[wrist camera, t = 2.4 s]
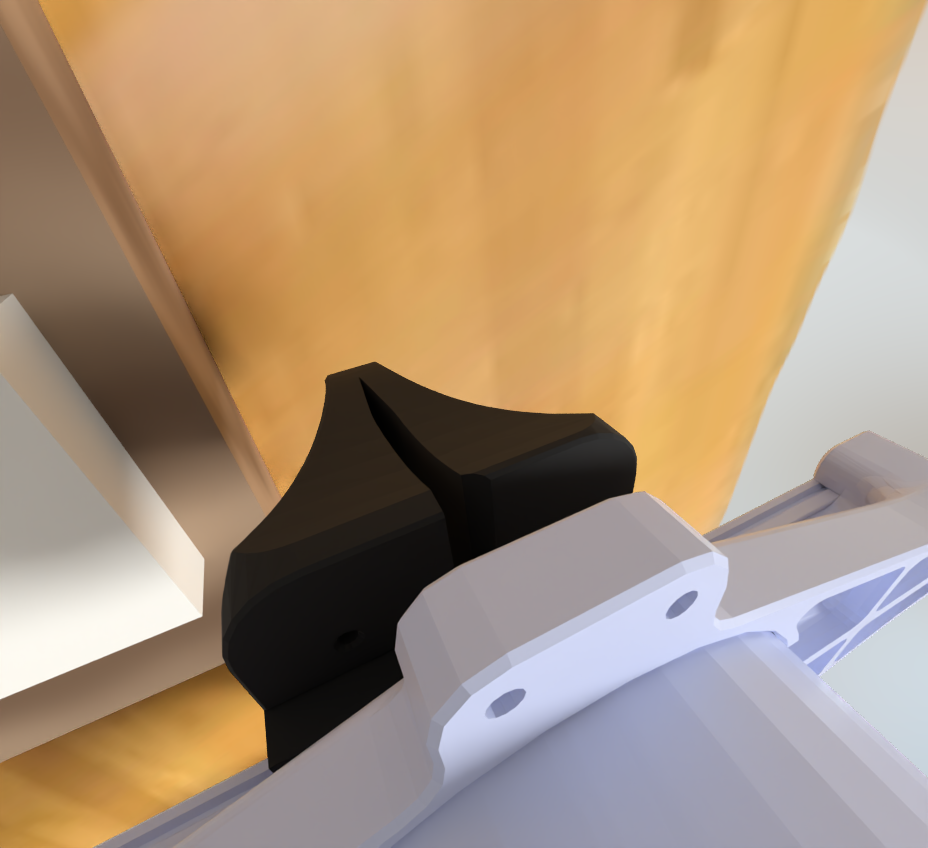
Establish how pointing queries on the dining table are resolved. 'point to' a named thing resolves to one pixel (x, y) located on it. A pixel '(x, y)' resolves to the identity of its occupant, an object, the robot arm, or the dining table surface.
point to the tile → (76, 525)
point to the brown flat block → (115, 364)
